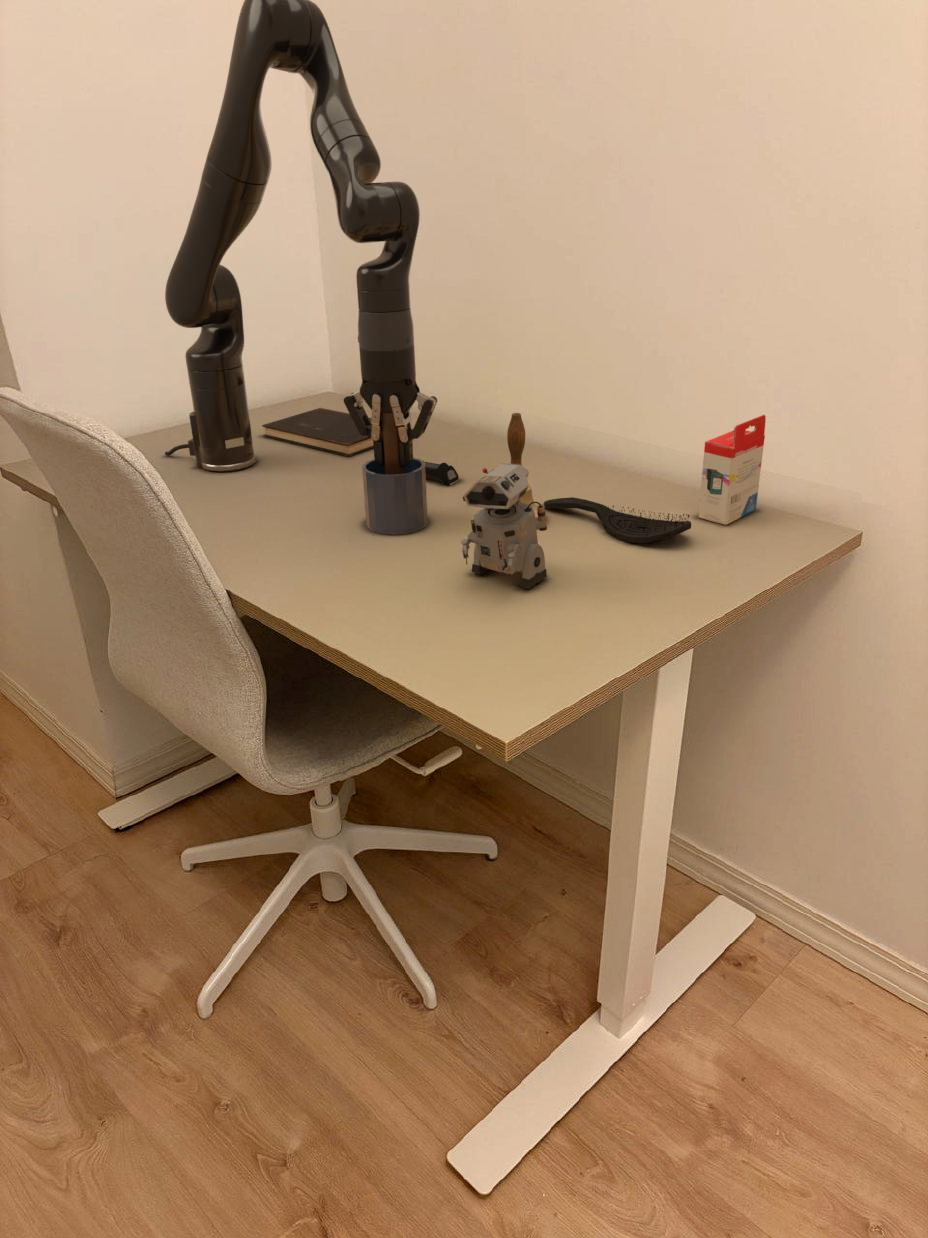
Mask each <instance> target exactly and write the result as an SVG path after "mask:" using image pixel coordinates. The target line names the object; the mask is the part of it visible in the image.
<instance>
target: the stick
mask: <svg viewBox="0 0 928 1238" xmlns="http://www.w3.org/2000/svg"><path fill="white" fill-rule="evenodd" d="M381 420H382V436H383V451H384V466H385V474H402V473H404V467H401V466H400V449H399V442H401V440H400V437H399V432H398V428H397V427H396V424H395V420H394V415H393V413H389V412H382V417H381Z"/></svg>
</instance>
